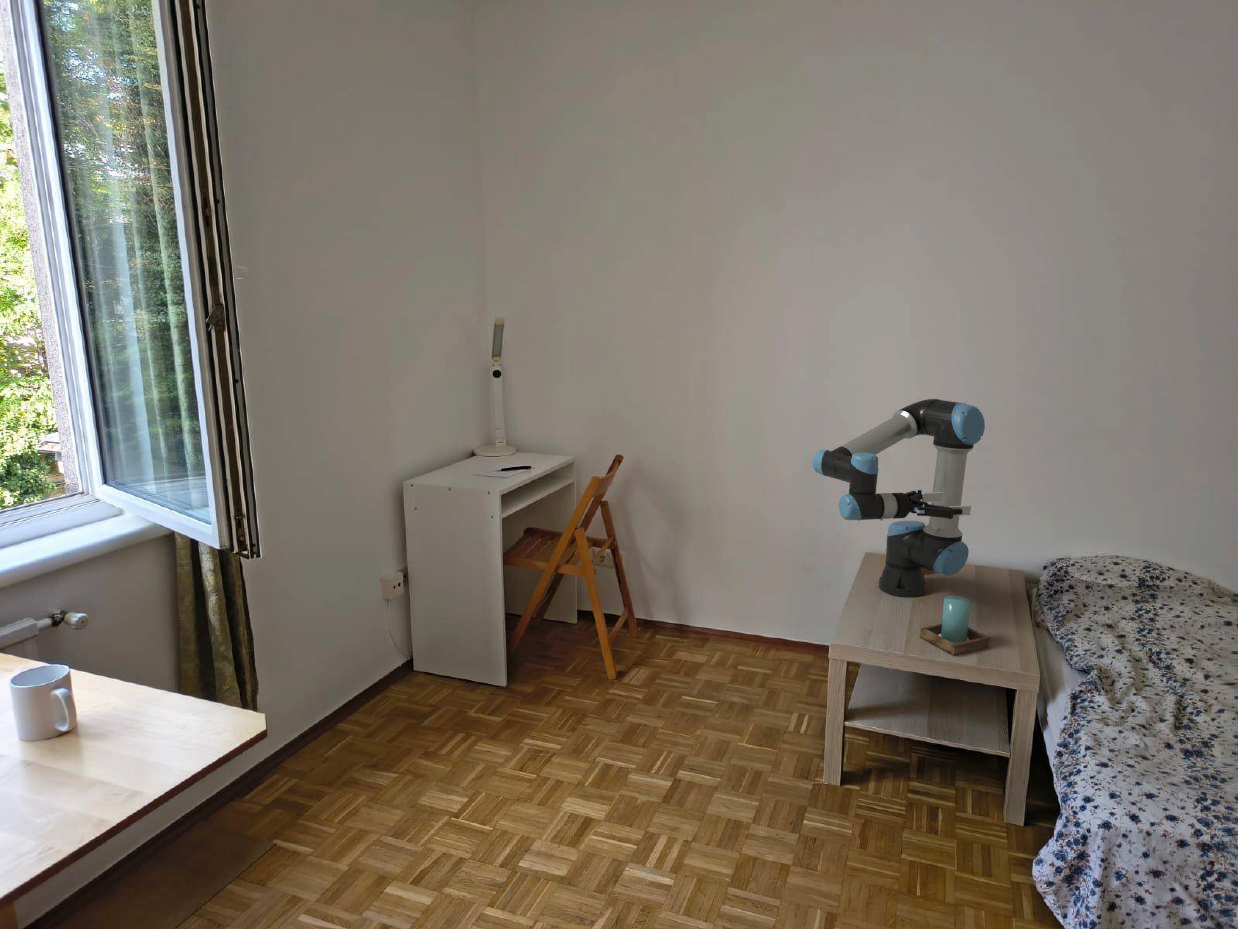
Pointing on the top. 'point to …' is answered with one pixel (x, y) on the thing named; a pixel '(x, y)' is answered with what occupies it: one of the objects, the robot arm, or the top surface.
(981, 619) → the top surface
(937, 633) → the walnut tray
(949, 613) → the teal cylinder
